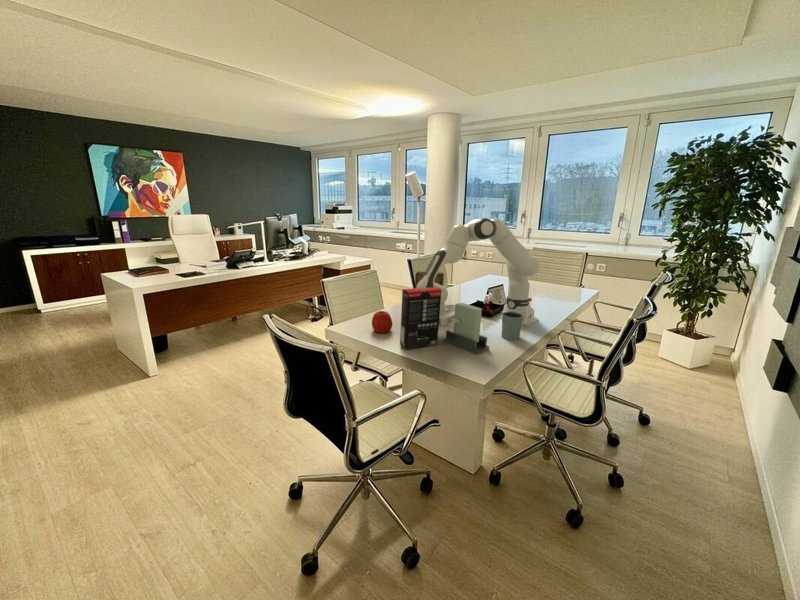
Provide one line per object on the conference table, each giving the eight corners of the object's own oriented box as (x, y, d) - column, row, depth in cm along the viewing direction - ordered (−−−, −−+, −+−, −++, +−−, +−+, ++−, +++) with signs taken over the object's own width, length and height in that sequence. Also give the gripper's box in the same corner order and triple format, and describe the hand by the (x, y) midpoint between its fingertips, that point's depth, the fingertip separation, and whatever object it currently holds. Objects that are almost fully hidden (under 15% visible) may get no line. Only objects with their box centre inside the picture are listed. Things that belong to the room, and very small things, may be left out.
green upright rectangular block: (458, 334, 165) (460, 302, 160) (478, 341, 156) (481, 308, 152) (453, 336, 162) (455, 303, 158) (473, 344, 153) (476, 310, 149)
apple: (368, 328, 179) (368, 309, 176) (388, 326, 183) (388, 307, 180) (374, 335, 169) (374, 315, 167) (395, 333, 173) (395, 313, 170)
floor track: (455, 336, 170) (456, 326, 169) (489, 349, 155) (490, 338, 154) (443, 341, 164) (443, 330, 163) (476, 354, 150) (477, 343, 148)
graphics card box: (431, 340, 165) (434, 285, 158) (439, 345, 159) (442, 288, 152) (399, 345, 158) (400, 288, 151) (405, 351, 152) (407, 291, 145)
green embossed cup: (505, 341, 166) (507, 317, 163) (496, 333, 175) (498, 311, 172) (524, 340, 167) (527, 317, 164) (514, 333, 177) (517, 311, 174)
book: (441, 313, 208) (444, 272, 201) (441, 315, 203) (443, 274, 196) (415, 311, 210) (416, 271, 204) (413, 313, 205) (415, 272, 199)
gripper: (427, 311, 161) (449, 318, 151) (456, 304, 174) (478, 310, 163) (427, 323, 162) (448, 331, 152) (455, 315, 175) (477, 322, 165)
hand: (464, 320), depth 158 cm, fingers closed on green upright rectangular block, 4 cm apart
